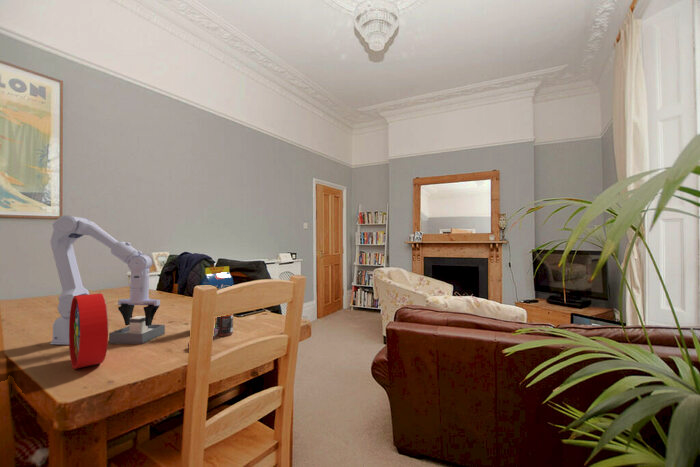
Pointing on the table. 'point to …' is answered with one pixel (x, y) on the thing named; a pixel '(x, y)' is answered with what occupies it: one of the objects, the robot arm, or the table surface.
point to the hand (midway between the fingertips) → (138, 325)
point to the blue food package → (217, 278)
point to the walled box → (136, 335)
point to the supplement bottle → (224, 325)
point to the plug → (137, 325)
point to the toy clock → (88, 330)
